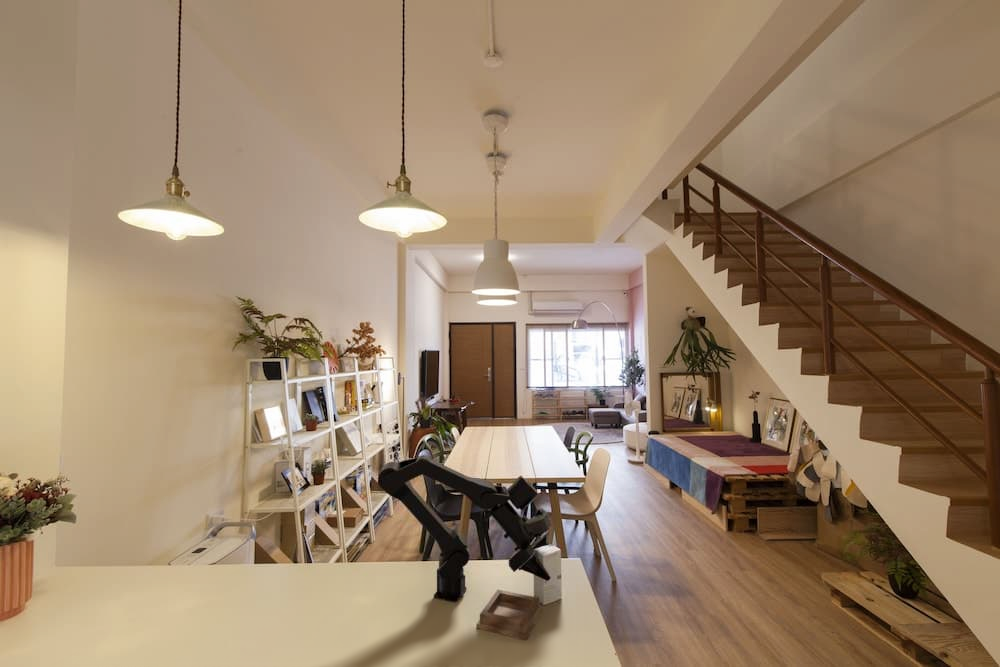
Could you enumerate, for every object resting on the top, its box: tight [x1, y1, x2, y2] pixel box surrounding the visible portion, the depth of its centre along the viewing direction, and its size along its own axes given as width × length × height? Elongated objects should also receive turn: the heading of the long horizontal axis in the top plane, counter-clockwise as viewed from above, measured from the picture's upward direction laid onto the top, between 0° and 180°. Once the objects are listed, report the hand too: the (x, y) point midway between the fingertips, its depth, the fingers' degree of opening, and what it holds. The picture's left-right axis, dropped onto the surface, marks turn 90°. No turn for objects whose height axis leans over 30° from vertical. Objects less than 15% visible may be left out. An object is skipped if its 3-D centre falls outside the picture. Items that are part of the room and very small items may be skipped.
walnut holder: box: [476, 589, 543, 641], centre depth 103 cm, size 12×12×3 cm
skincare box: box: [533, 544, 563, 606], centre depth 111 cm, size 6×4×12 cm
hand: (552, 572), depth 111 cm, fingers closed on skincare box, 7 cm apart
